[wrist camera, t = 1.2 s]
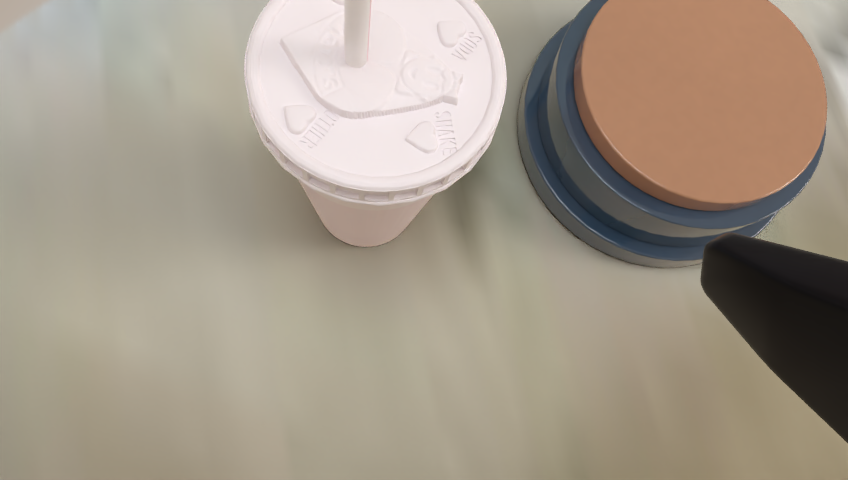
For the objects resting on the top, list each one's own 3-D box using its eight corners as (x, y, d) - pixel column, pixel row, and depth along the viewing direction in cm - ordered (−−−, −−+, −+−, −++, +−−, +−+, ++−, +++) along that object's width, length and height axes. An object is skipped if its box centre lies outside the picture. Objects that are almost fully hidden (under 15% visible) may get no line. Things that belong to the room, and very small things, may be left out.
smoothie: (306, 102, 26) (266, -241, 13) (466, 144, 27) (591, -149, 13) (256, 258, 24) (152, 47, 11) (430, 302, 25) (532, 147, 11)
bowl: (824, 123, 29) (909, 69, 24) (692, 326, 26) (762, 305, 21) (613, -30, 30) (659, -108, 25) (461, 148, 27) (484, 93, 22)
